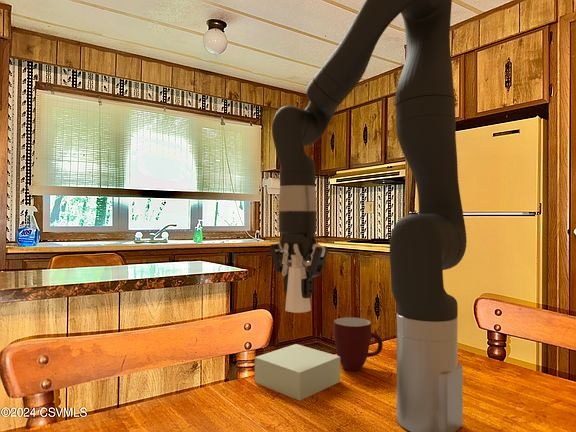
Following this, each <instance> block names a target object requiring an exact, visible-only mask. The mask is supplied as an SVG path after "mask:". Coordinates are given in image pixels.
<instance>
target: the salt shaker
mask: <svg viewBox="0 0 576 432" xmlns="http://www.w3.org/2000/svg"><path fill="white" fill-rule="evenodd" d="M291 260H292V261H291V262H292V264H291V265H292V266H290V267H289V274H288V285H287V295H285V296H286V297H285V299H286V300H285V308H284V309H285V312H289V313H293V314H294V313H299V314H300V313H307V312H310V311H311V310H312V306H311V299H310V298H311V297H310V298H303V297H302V292H301V279H303V278H302V275H301V270H300V267H298V264H297V258H296V255H291Z"/></svg>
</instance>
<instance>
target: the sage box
mask: <svg viewBox="0 0 576 432" xmlns="http://www.w3.org/2000/svg"><path fill="white" fill-rule="evenodd" d="M340 382H341V363H340V356H337V354H332V353H329V352H326V351H322V350H319V349H315V348H311V347H308V346H304V345H302V344H297V343H294V344H292V345H289V346H285V347H282V348H279V349H276V350H273V351H271V352H270V351H269V352H267V353H264V354H260V355H257V356H254V383H255V384H258V385H260V386H263V387H265V388H267V389H270V390H272V391H275V392H278V393H279V394H282V395H284V396H287V397H289V398H291V399H294V400H297V401H300V402H301V401H302V400H304V399H306V398H309V397H312V396H313V395H316V394H317V393H319V392H321V391H324V390H325V389H327V388H330V387H332V386H334V385H337V384H338V383H340Z"/></svg>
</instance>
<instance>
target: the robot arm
mask: <svg viewBox="0 0 576 432" xmlns="http://www.w3.org/2000/svg"><path fill="white" fill-rule="evenodd" d="M452 2H453V0H365V1H364V3H363V4H362V5H361V7H360V9H359V11H358V13H357V14H356V16H355V18H354V19H353V21H352V23H351V25H350V26H349V28H348V30H347V32H346V33H345V35H344V36H343V38H342V39H341V41H340V42H339V44H338V45H337V47H336V48H335V50H334V51H333V52H332V53H331V55H330V56H329V58H328V59H327V60H326V62H325V63H324V64H322V66H321V68H320V69H319V70H318V71H317V73H316V74H315V75H314V76H313V78H312V79H311V80H310V82H309V83H308V84H307V87H306V89H305V93H306V97H307V98H308V100H309V102H308V105H306V107H305V109H303V108H300V107H297V106H294V105H284V106H282V107H280V108H279V109H278V110H277V111H276V112H275V114H274V116H273V118H272V124H271V133H272V134H271V135H272V140H273V143H274V144H273V145H274V149H275V154H276V157H277V160H278V163H279V193H278V232H279V233H280V234H281V236H280V239H279V240H280V241H279V242H276V243H272V244H270V245H269V246H270V247H269V248H270V252H271V253H270V254H271V256H272V260H273V261H272V262H273V266H274V269H275V272H276V273H280V274H281V275H282V277H283V291H284V295H285V296H287V285H288V274H289V267H290V266H292V265H291V264H292V262H291V261H292V260H291V255H296V258H297V264H298V267H300V270H301V275H302V278H303V279H301V292H302V297H303V298H312V295H313V293H314V282H313V281H314V278H315V277H317V276H321V275H322V274H323V273H322V272H323V270H324V265H325V261H326V258H327V256H328V251H329V247H328V246H326V245H323V246H322V245H320V244H318V243H317V239H316V237H315V236H316V233H317V231H318V230H317V226H318V225H317V216H318V215H317V213H318V211H317V210H318V209H317V208H318V206H317V203H318V202H317V191H316V164H315V161H314V159H313V158H312V157H310V156H309V155H308V154H307V153H306V151H305V147H309V146H312V145H314V144H315V143H316V142H318V141H319V140H320V139H321V137H322V136H323V135H324V133H325V131H326V130H327V128H328V126H329V124H330V122H331V120H332V119H333V116H334V115H335V112H336V110H337V109H338V107H339V106H340V105H341V104H342V103H343V102H344V100H345V99H347V97H348V96H349V95H350V94H351V93H352V91H353V90H354V89H355V88H356V87H357V85H358V84H359V83H360V81H361V79H362V78H363V76H364V75H365V72H366V70H367V67H368V65H369V63H370V60H371V58H372V55H373V53H374V50H375V48H376V46H377V44H378V42H379V40H380V38H381V37H382V35H383V33H384V32H385V31H386V29H387V28H388V27H389V25H390V24H391V23H392V22H393V21H394V20H395V19H396V18H397V17H398V16H399V15H400V14H401V16H402V19H403V25H404V31H405V32H404V33H405V43H406V52H405V53H406V56H405V61H404V64H403V68H402V70H401V73H400V76H399V79H398V82H397V87H396V90H395V96H394V97H395V98H394V100H395V101H394V102H395V104H394V106H395V109H394V110H395V127H396V129H395V130H396V135H397V140H398V143H399V146H400V149H401V152H402V153H403V156H404V158H405V160H406V163H407V164H408V167H409V169H410V171H411V173H412V175H413V178H414V181H415V182H414V183H416V184H415V185H416V189H417V190H416V191H417V199H418V213H415V214H414V213H413V214H408V215H405V216H403V217H401V218H400V219H398V221H397V222H396V223H395V225H394V226H393V228H392V231H391V235H390V239H389V268H390V269H389V270H390V286H391V293H392V295H393V299H394V301H395V304H396V421H397V424H398V425H400V426H401V427H402V428H404V429H405V430H407V431H409V432H457V431H458V430H459V429H460V428H462V427H463V423H464V421H463V419H464V417H463V416H464V415H463V411H464V410H463V407H464V406H463V405H464V404H463V401H464V399H463V396H464V394H463V392H464V391H463V390H464V389H463V388H464V387H463V383H464V381H463V379H464V378H463V372H464V371H463V365H462V364H460V363H458V360H459V359H458V313H459V311H458V308H459V307H458V302H457V299H456V298H455V297H454V296H452V295H451V294H448V292H447V291H446V290H445V284H444V272H443V271H444V270H445V271H446V270H450V269H452V268H455V267H456V266H457V265H458V264H460V262H461V261H462V259H463V258H464V256H465V253H466V250H467V242H468V241H467V230H466V224H465V218H464V211H463V205H462V199H461V193H460V186H459V184H460V183H459V173H458V171H459V170H458V169H459V168H458V150H457V137H456V135H457V134H456V131H457V128H456V125H457V124H456V122H457V121H456V101H455V100H456V99H455V98H456V97H455V91H454V90H455V89H454V75H453V63H452V53H451V45H450V44H451V41H450V40H451V17H452V16H451V15H452V5H453V3H452Z"/></svg>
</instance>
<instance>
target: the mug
mask: <svg viewBox="0 0 576 432" xmlns="http://www.w3.org/2000/svg"><path fill="white" fill-rule="evenodd" d="M333 339H334V344H335V352H336V355H337V356H340V365H341V366H342V368H343V369H345V370H346V371H350V372H351V371H352V372H356V371H357V370H358V371H360V370H361V369H363V367H364V365H365V363H366V361H367V360H368V359H367V358H371V357H375V356H377V355H378V356H379V354H381V352H382V350H383V344H384V343H383V341H382V337H381V336H380V335H379V334H378V333H376V332H372V322H371V320H368V319H366V318H362V317H355V316H354V317H351V316H349V317H348V316H347V317H339V318H336V319H334V320H333ZM372 339H375V340H376V342H377V345H378V346H377V348H376V350H375V351H372V352H369V349H370V344H371V340H372ZM358 371H357V372H358Z"/></svg>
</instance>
